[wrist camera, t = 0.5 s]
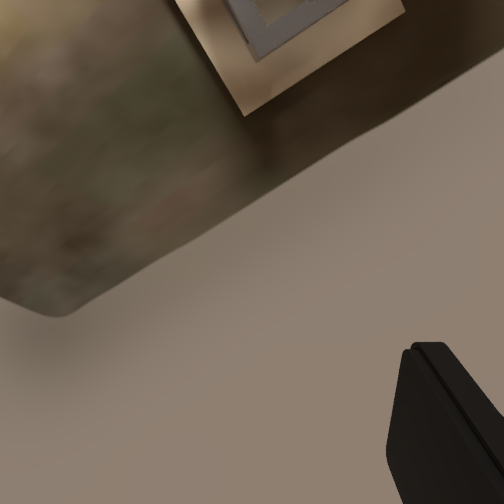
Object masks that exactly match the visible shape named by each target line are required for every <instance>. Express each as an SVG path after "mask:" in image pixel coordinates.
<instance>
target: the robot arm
mask: <svg viewBox="0 0 504 504" xmlns="http://www.w3.org/2000/svg"><path fill="white" fill-rule="evenodd" d="M386 457H387V462H388V466H389V468H390V471H391V473H392V476H393V479H394V482H395V484H396V487H397V489H398V492H399V495H400V497H401V499H402V502H403V504H504V417H503V416H502V415H501V414H500V413H499V412H498V410H497V409H496V408H495V407H494V405H493V404H492V403H491V401H490V400H489V399H488V398H487V396H486V395H485V394H484V392H483V391H482V390H481V389H480V387H479V386H478V385H477V384H476V382H475V381H474V380H473V378H472V377H471V376H470V374H469V373H468V372H467V371H466V369H465V368H464V367H463V365H462V364H461V363H460V362H459V360H458V359H457V358H456V356H455V355H454V354H453V353H452V351H451V350H450V349H449V347H448V346H447V345H446V344H445V343H443V342H415V343H413V344H412V346H411V348H410V349H406V350H404V351H403V354H402V358H401V363H400V369H399V375H398V381H397V387H396V393H395V398H394V405H393V410H392V416H391V421H390V428H389V433H388V439H387V445H386Z"/></svg>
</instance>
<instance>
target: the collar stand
mask: <svg viewBox="0 0 504 504" xmlns="http://www.w3.org/2000/svg"><path fill="white" fill-rule="evenodd" d="M175 1H176V3H177V4H178V6H179V8H180V9H181V11H182V13H183V14H184V16H185V18H186V20H187V21H188V23H189V25H190V26H191V28H192V30H193V31H194V33H195V35H196V36H197V38H198V40H199V41H200V43H201V45H202V46H203V48H204V50H205V51H206V53H207V55H208V56H209V58H210V60H211V61H212V63H213V65H214V66H215V68H216V70H217V72H218V73H219V75H220V77H221V78H222V80H223V82H224V83H225V85H226V87H227V88H228V90H229V92H230V93H231V95H232V97H233V98H234V100H235V102H236V103H237V105H238V107H239V108H240V110H241V112H242V113H243V115H244V117H245V116H246V115H248V114H249V113H251V112H252V111H254V110H255V109H257V108H259V107H260V106H262V105H263V104H265V103H266V102H268V101H269V100H271V99H272V98H274V97H275V96H277V95H278V94H280V93H282V92H283V91H285V90H286V89H288V88H289V87H291V86H292V85H294V84H295V83H297V82H298V81H300V80H301V79H303V78H305V77H306V76H308V75H309V74H311V73H312V72H314V71H315V70H317V69H318V68H320V67H321V66H323V65H324V64H326V63H328V62H329V61H331V60H332V59H334V58H335V57H337V56H338V55H340V54H341V53H343V52H344V51H346V50H347V49H349V48H351V47H352V46H354V45H355V44H357V43H358V42H360V41H361V40H363V39H364V38H366V37H367V36H369V35H370V34H372V33H374V32H375V31H377V30H378V29H380V28H381V27H383V26H384V25H386V24H387V23H389V22H390V21H392V20H393V19H395V18H397V17H398V16H400V15H401V14H403V13H404V12H406V11H405V9H404V7H403V4H402V2H401V0H175Z"/></svg>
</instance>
